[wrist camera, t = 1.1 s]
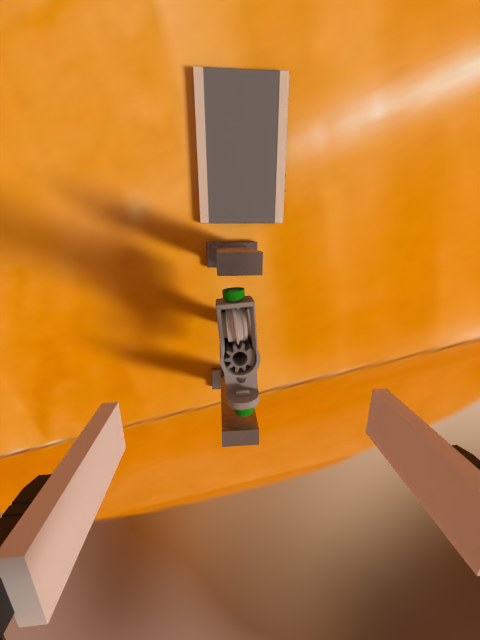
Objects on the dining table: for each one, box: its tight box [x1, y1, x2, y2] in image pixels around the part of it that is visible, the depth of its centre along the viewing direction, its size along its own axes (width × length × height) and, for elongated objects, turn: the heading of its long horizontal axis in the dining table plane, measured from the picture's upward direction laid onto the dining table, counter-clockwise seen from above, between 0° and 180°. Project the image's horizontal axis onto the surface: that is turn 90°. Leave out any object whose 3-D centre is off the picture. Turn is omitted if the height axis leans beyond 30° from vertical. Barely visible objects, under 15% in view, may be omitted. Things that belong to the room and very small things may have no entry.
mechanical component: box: [216, 287, 260, 417], centre depth 24 cm, size 3×10×10 cm, turn 5°
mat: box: [193, 66, 289, 223], centre depth 24 cm, size 12×8×1 cm, turn 1°
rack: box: [207, 242, 263, 447], centre depth 24 cm, size 16×5×10 cm, turn 1°
